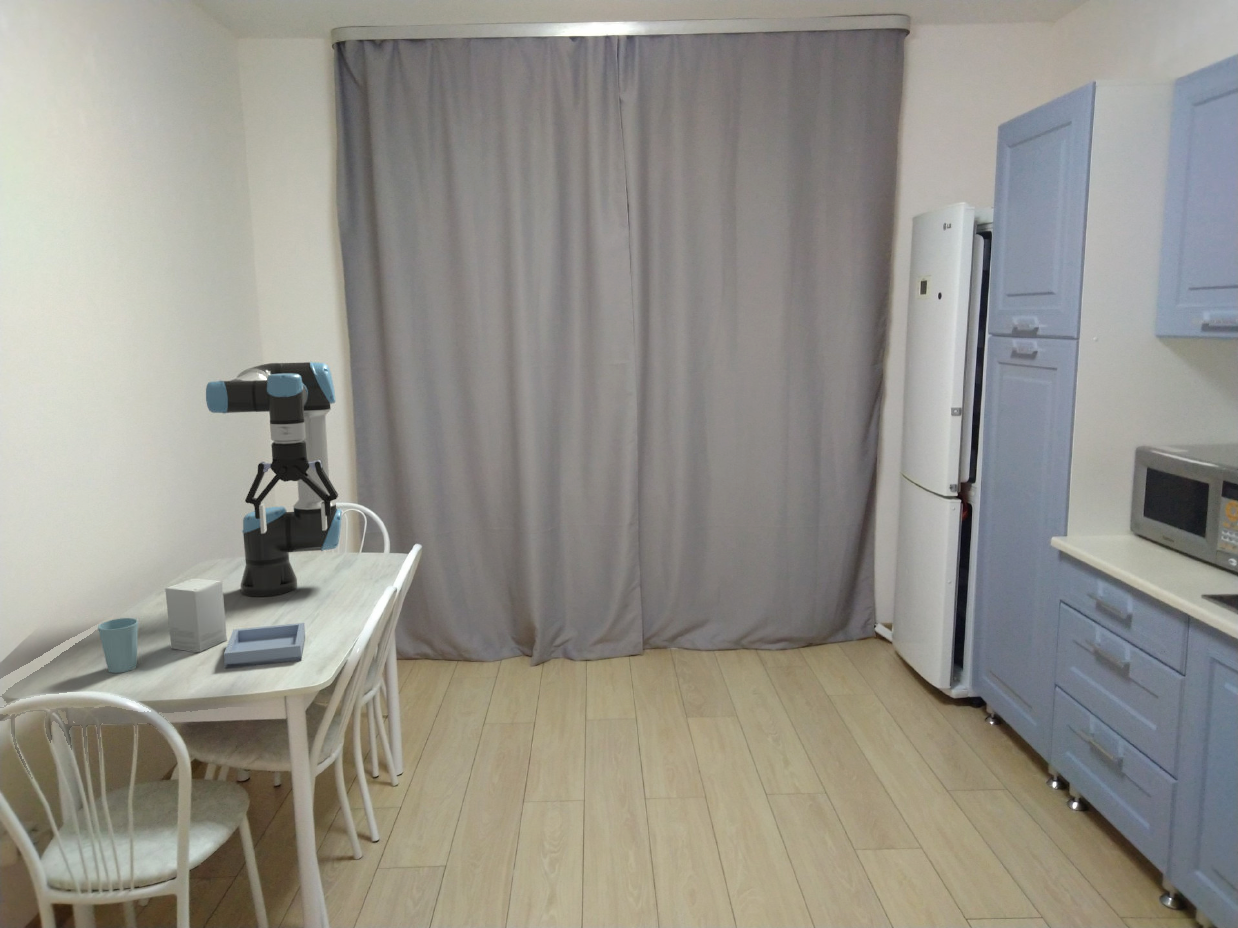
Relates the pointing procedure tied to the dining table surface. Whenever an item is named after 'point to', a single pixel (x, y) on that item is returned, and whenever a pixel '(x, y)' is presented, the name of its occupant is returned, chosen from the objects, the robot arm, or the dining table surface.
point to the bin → (265, 645)
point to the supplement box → (196, 614)
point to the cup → (119, 644)
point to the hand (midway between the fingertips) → (294, 530)
